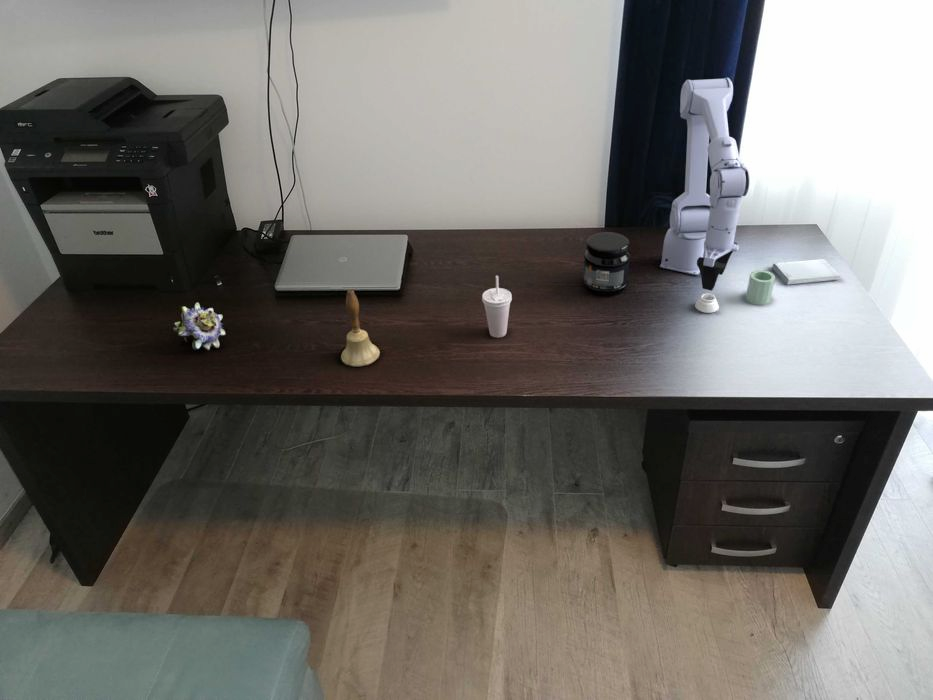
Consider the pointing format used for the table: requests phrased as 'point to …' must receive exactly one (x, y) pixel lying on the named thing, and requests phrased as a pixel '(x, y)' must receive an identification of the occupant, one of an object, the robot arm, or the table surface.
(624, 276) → the supplement container
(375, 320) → the table surface
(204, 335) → the passion flower
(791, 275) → the hard drive
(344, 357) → the hand bell
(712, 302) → the white jar
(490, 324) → the smoothie
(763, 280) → the cup
